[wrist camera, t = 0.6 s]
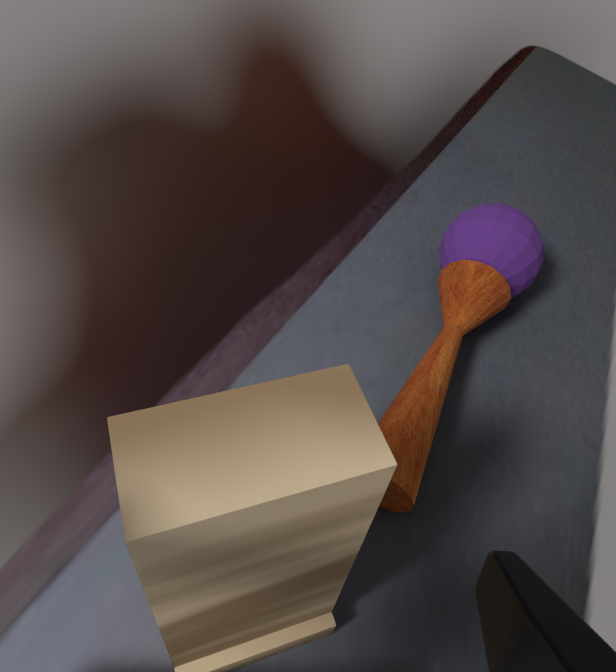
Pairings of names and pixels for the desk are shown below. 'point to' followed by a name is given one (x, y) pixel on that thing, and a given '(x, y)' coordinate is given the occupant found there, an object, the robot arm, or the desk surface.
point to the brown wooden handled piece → (457, 328)
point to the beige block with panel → (249, 512)
